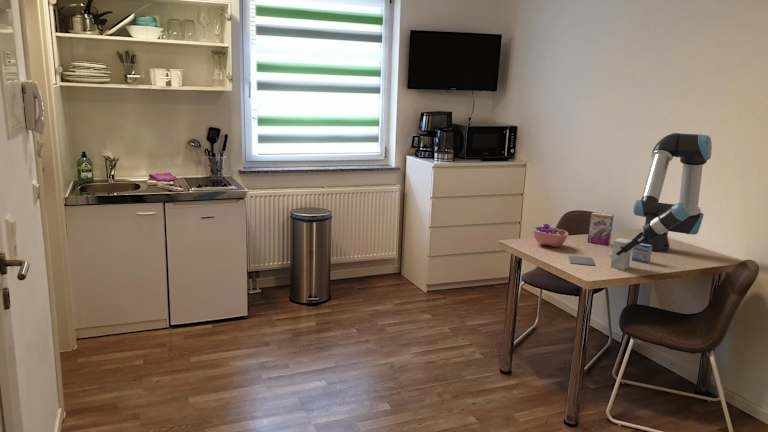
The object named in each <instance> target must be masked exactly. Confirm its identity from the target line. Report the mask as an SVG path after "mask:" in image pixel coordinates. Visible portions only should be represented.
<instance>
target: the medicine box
mask: <svg viewBox="0 0 768 432" xmlns="http://www.w3.org/2000/svg"><path fill="white" fill-rule="evenodd" d="M652 246H653V245H648V244H643V243H640V244H638V245H636V246H635V247H633V248H632V251H631V258H630V261H633V262H638V263H639V262H640V263H643V264H649V263H650V262H651V258H652V252H653V251H652Z"/></svg>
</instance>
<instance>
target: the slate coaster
mask: <svg viewBox="0 0 768 432" xmlns="http://www.w3.org/2000/svg"><path fill="white" fill-rule="evenodd" d="M568 259H569V260H568V261H569V263H570V264H571V265H573V264H574V265H583V266H592V267H595V266H596V264H595V262H594V259H593V258H592V257H588V256H581V255H580V256H578V255H568Z"/></svg>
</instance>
